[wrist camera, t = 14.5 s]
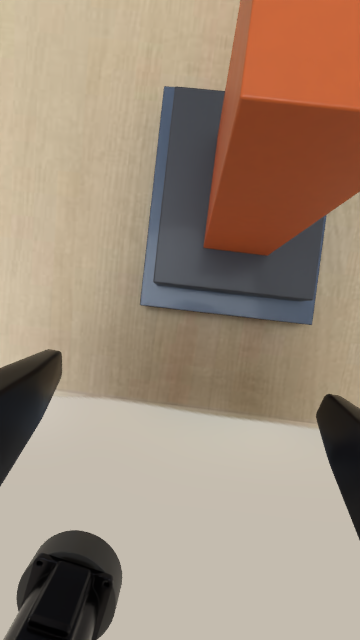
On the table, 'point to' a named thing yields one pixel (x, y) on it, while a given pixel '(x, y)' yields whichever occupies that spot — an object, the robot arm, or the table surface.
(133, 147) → the table surface
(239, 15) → the tall orange prism
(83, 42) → the table surface
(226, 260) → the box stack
